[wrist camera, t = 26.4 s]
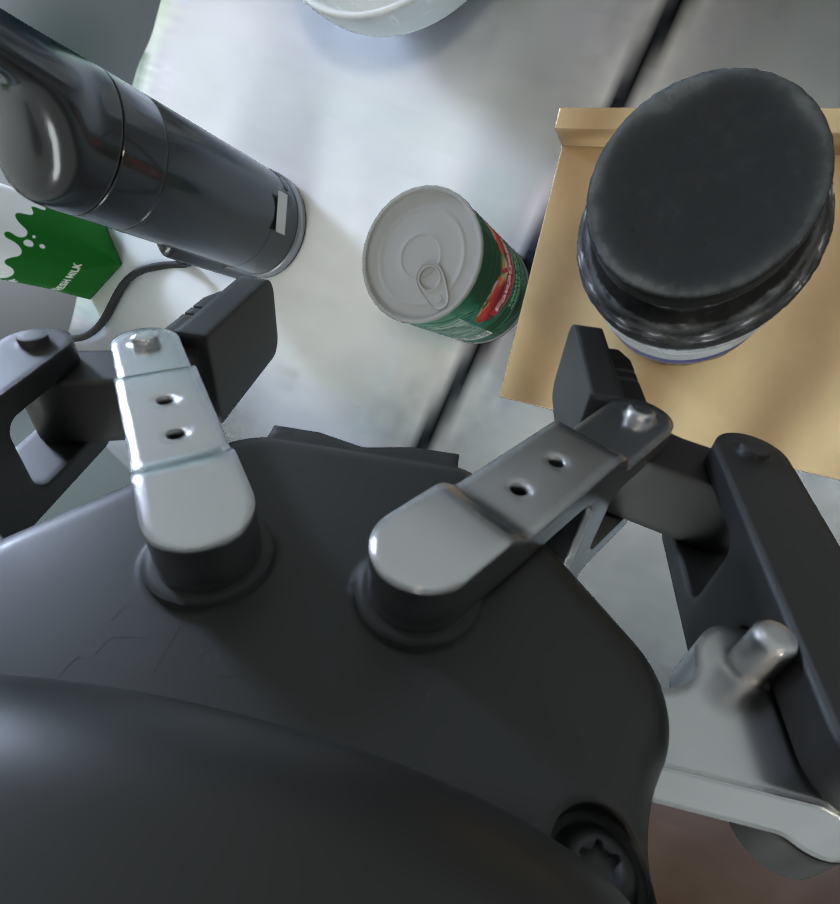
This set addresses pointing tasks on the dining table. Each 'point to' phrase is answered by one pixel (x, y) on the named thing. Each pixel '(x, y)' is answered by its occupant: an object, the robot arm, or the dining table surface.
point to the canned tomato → (443, 267)
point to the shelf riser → (702, 384)
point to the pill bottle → (707, 213)
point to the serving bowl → (384, 14)
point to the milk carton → (52, 248)
